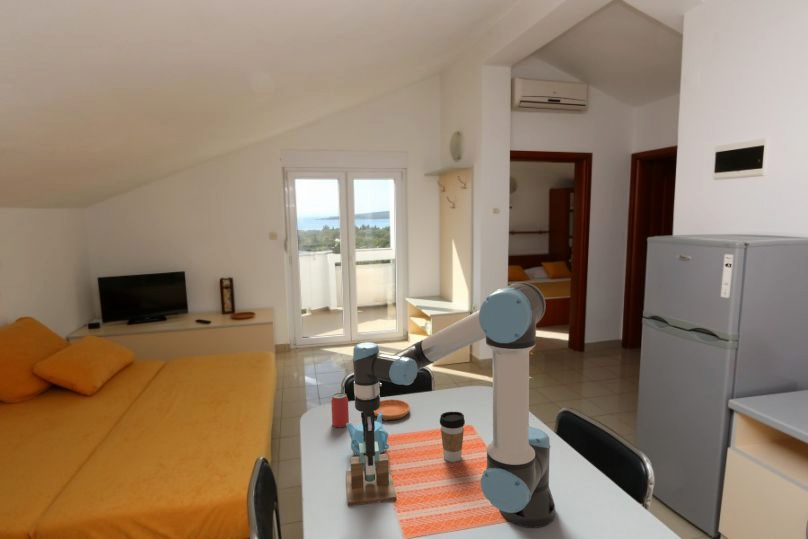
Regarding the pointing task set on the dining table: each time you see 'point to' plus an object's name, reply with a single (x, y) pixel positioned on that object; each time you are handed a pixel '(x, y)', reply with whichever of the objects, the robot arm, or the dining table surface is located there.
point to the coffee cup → (452, 435)
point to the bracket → (370, 483)
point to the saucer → (392, 409)
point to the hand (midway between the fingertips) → (369, 467)
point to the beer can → (340, 410)
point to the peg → (362, 459)
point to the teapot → (357, 437)
